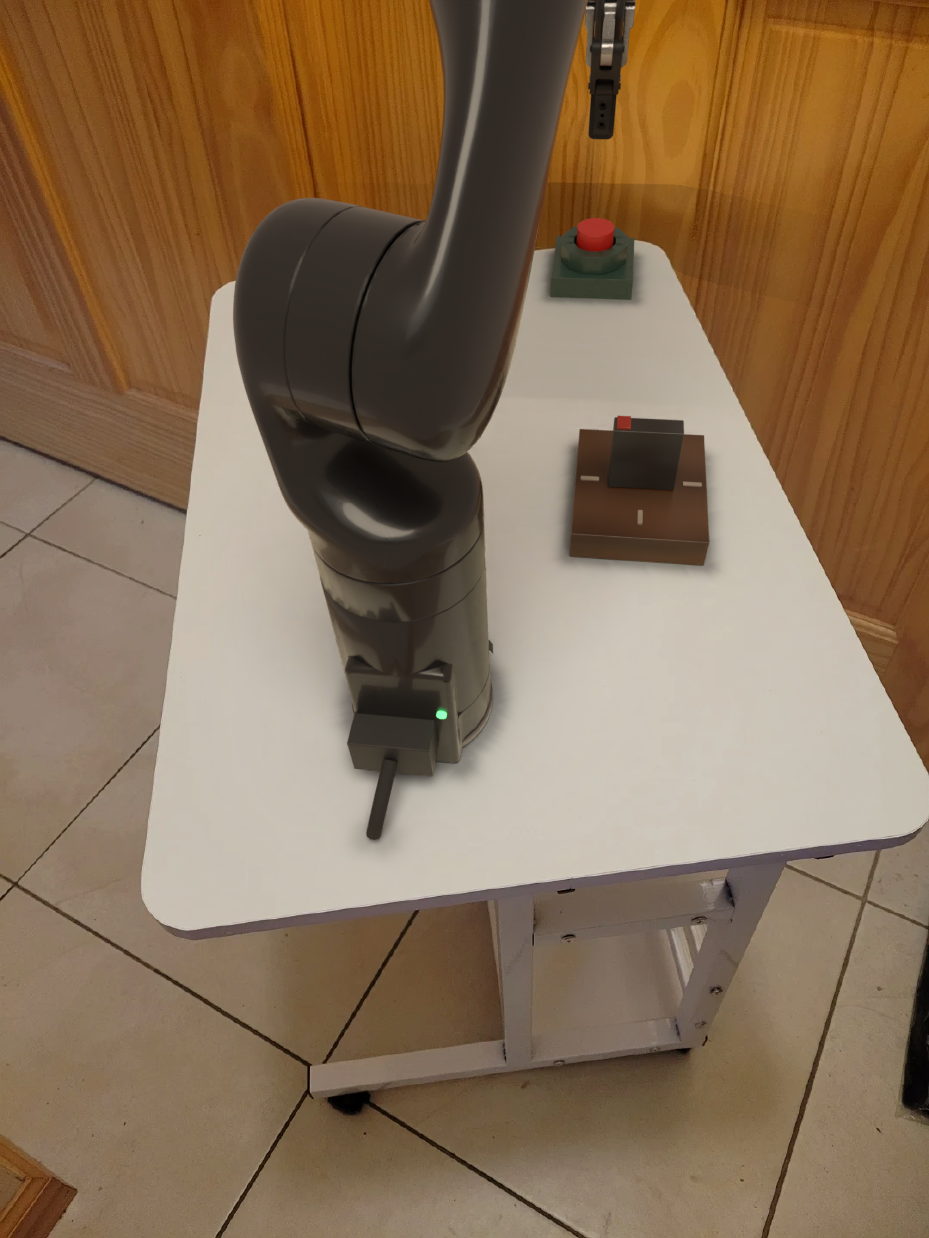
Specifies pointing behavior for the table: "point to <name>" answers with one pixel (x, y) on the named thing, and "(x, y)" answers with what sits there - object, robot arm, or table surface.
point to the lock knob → (645, 453)
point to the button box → (593, 269)
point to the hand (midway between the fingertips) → (600, 135)
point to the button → (595, 234)
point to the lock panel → (639, 508)
